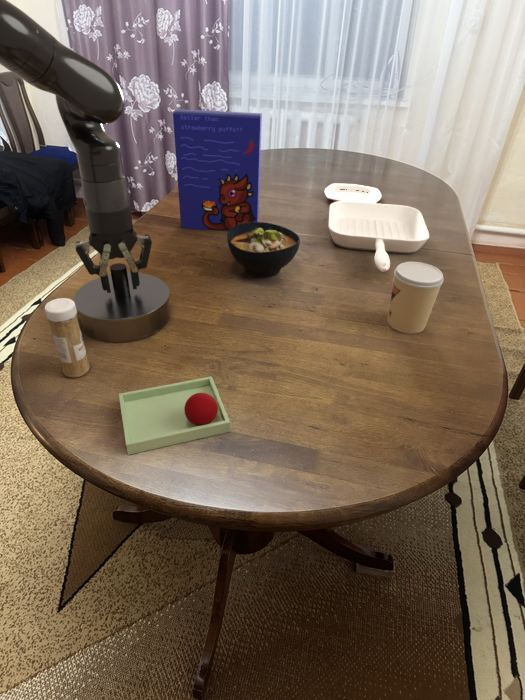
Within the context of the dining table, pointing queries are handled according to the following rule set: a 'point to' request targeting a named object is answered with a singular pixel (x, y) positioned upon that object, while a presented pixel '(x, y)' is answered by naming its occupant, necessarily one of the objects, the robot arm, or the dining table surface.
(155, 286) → the pot lid
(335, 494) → the dining table surface
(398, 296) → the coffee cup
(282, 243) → the bowl
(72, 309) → the sprinkles bottle
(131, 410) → the tray
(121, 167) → the robot arm
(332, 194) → the plate
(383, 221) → the pan
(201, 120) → the cereal box
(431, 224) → the dining table surface
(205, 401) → the dark red ball
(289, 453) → the dining table surface
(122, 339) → the pot
